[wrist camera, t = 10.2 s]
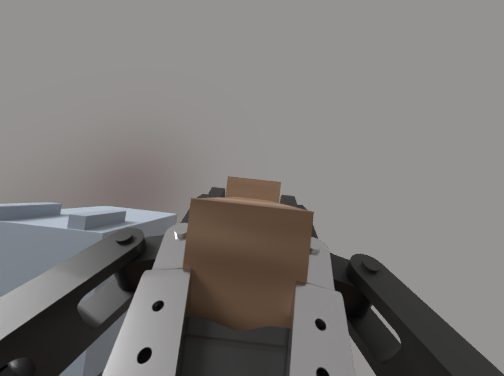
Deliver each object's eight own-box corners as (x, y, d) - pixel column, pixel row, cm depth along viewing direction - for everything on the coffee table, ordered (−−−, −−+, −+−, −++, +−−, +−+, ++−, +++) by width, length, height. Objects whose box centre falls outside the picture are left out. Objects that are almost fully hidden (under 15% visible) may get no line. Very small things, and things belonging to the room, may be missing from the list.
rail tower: (30, 745, 12) (104, 218, 13) (-126, 725, 12) (-38, 202, 13) (146, 456, 25) (178, 206, 26) (71, 447, 25) (106, 198, 26)
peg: (337, 343, 5) (355, 146, 5) (139, 320, 5) (165, 125, 5) (270, 226, 25) (274, 185, 25) (228, 222, 25) (233, 180, 25)
